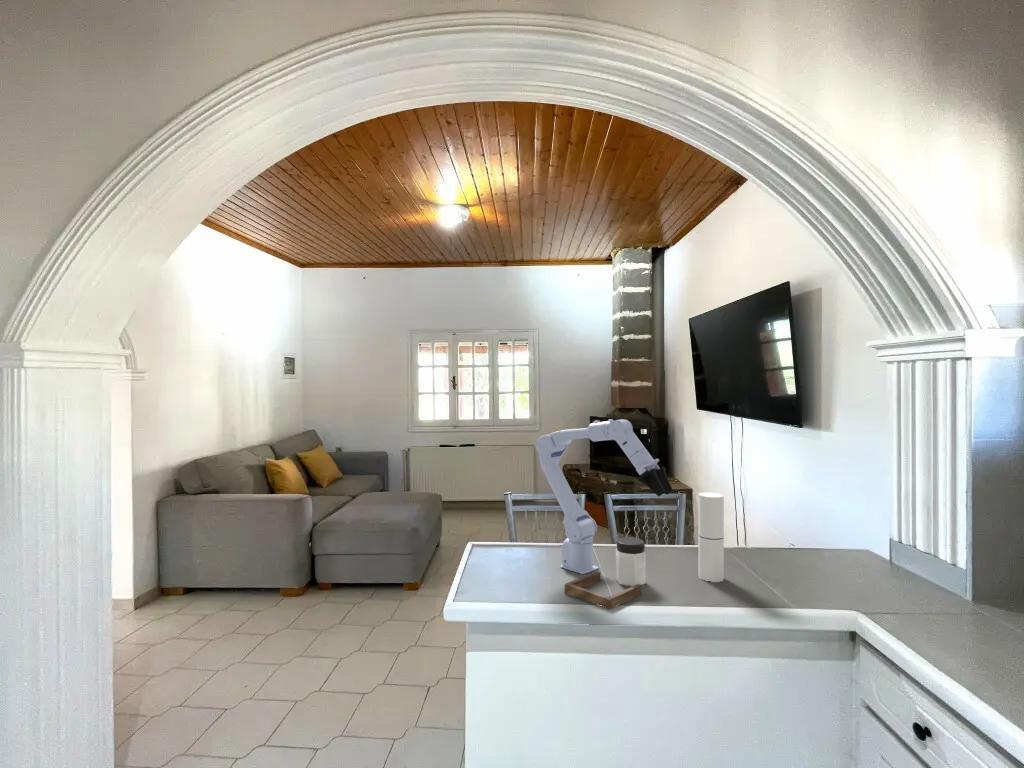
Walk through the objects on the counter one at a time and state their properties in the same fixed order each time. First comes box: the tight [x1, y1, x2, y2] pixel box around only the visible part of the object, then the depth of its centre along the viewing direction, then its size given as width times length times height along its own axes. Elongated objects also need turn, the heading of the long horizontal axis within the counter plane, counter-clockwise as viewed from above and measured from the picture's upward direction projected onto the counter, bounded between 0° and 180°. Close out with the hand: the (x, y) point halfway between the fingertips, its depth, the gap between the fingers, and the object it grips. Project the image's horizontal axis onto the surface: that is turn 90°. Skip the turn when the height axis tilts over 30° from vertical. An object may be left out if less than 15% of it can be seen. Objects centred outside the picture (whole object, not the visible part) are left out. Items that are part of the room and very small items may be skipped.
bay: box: [564, 570, 643, 610], centre depth 154 cm, size 15×15×2 cm
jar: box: [615, 536, 647, 587], centre depth 163 cm, size 9×8×12 cm
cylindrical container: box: [697, 491, 725, 583], centre depth 166 cm, size 7×7×25 cm
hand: (666, 493), depth 156 cm, fingers open, 7 cm apart
